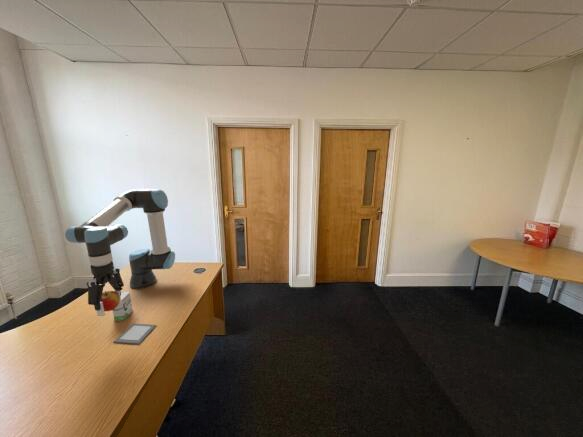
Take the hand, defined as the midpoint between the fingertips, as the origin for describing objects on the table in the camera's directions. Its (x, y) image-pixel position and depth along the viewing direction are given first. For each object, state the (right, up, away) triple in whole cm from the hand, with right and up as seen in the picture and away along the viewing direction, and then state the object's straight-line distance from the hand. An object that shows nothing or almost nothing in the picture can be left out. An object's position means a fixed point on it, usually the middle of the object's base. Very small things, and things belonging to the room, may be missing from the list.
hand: (110, 308), depth 101 cm
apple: (0, -1, 0) cm, 0 cm away
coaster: (+8, -15, +6) cm, 17 cm away
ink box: (-8, -11, +18) cm, 23 cm away
